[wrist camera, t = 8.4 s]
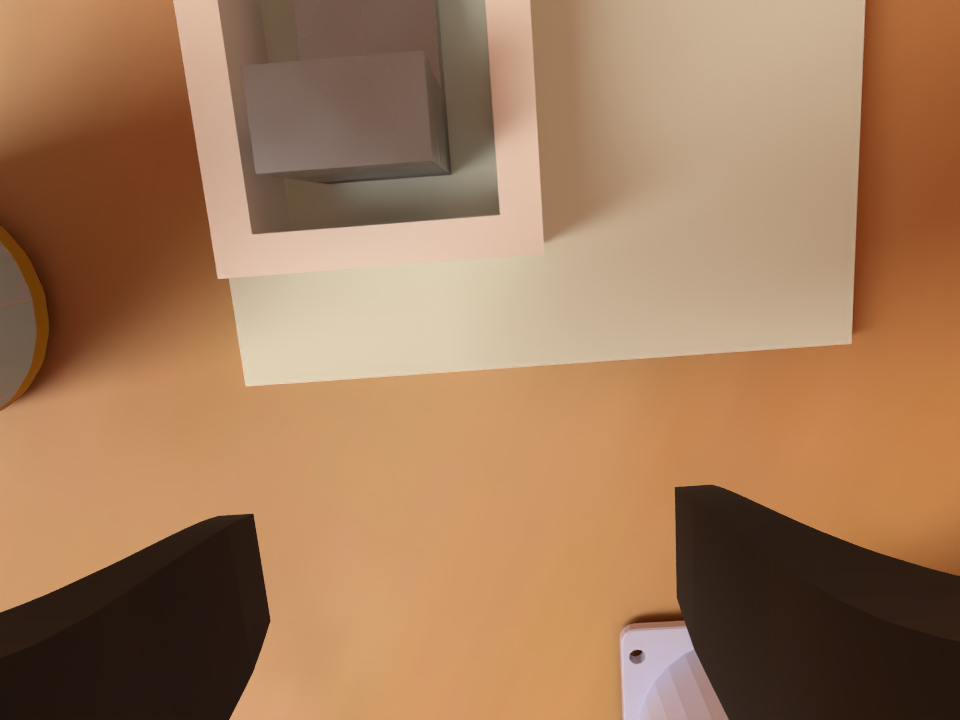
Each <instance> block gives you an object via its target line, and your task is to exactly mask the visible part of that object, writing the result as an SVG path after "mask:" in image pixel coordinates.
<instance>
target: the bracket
mask: <svg viewBox="0 0 960 720" xmlns="http://www.w3.org/2000/svg"><path fill="white" fill-rule="evenodd" d="M293 6H294V15H295V23H296V31H297V40H298V48H299V56H300V61H289V62H277V63H265V64H253V65H241V71H242V78H243V85H244V92H245V100H246V107H247V114H248V121H249V129H250V136H251V143H252V151H253V158H254V165H255V172H256V174H260V175H267V176H274V177H282V178H289V179H296V180H303V181H310V182H317V183H324V184H337V183H350V182H363V181H377V180H390V179H403V178H417V177H430V176H443V175H452V174H451V161H450V148H449V135H448V122H447V109H446V97H445V84H444V71H443V58H442V45H441V32H440V19H439V7H438V0H293Z"/></svg>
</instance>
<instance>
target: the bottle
mask: <svg viewBox="0 0 960 720" xmlns="http://www.w3.org/2000/svg"><path fill="white" fill-rule="evenodd" d="M48 336H49V319H48V312H47V304H46V297H45V294H44V290H43V287H42V285H41V283H40V281H39V279H38V276H37V274H36V272H35V270H34V268H33V265H32V263H31V261H30V260H29V258H28V256H27V255H26V253H25V252H24V251H23V250H22V248H21V247H20V246H19V245H18V244H17V243H16V241H15V240H14V239H13V238H12V237H11V235H10V234H9V233H8V232H7V231H6V230H5V229H4V228H3V227H2V226H1V225H0V411H1V410H3V409H5V408H6V407H7V406H9V405H10V404H11V403H12V402H14V401H15V400H16V399H17V398H19V397H20V396H21V395H23V394H24V392H25V391H26V390H27V389H28V388H29V386H30V385H31V383H32V381H33V380H34V378H35V376H36V375H37V373H38V371H39V370H40V368H41V366H42V363H43V361H44V358H45V352H46V347H47V342H48Z"/></svg>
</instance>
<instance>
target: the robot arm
mask: <svg viewBox="0 0 960 720" xmlns="http://www.w3.org/2000/svg"><path fill="white" fill-rule="evenodd" d="M675 516H676V575H677V599H678V602H679V605H680V609H681V612H682V615H683V618H684V621H667V622H650V623H634V624H629V625H627V626H626V627H624V628H623V630H622V631H621V633H620V661H621V688H622V715H623V720H960V576H956V575H952V574H948V573H945V572H941V571H937V570H933V569H929V568H926V567H922V566H919V565H916V564H912V563H909V562H906V561H903V560H899V559H896V558H893V557H890V556H886V555H883V554H880V553H877V552H874V551H871V550H868V549H865V548H862V547H860V546H857V545H854V544H852V543H849V542H847V541H844V540H841V539H839V538H836V537H834V536H831V535H829V534H826V533H824V532H821V531H819V530H816V529H814V528H812V527H809V526H807V525H805V524H802V523H800V522H798V521H795V520H793V519H791V518H789V517H787V516H784V515H782V514H780V513H778V512H776V511H773V510H771V509H769V508H767V507H765V506H763V505H760V504H758V503H756V502H754V501H752V500H750V499H747V498H745V497H743V496H741V495H738V494H736V493H734V492H732V491H729V490H727V489H724V488H721V487H718V486H714V485H701V486H686V487H675ZM269 623H270V615H269V608H268V602H267V596H266V590H265V584H264V577H263V571H262V565H261V559H260V552H259V546H258V540H257V534H256V528H255V521H254V515H253V514H243V515H227V516H217V517H214V518H210V519H207V520H204V521H202V522H199V523H197V524H195V525H192V526H190V527H188V528H186V529H184V530H181V531H179V532H177V533H175V534H173V535H171V536H169V537H167V538H165V539H163V540H161V541H159V542H157V543H155V544H153V545H151V546H149V547H147V548H145V549H143V550H141V551H139V552H137V553H135V554H133V555H131V556H129V557H127V558H125V559H123V560H121V561H118V562H116V563H114V564H112V565H110V566H108V567H106V568H104V569H101V570H99V571H97V572H95V573H93V574H91V575H88V576H86V577H84V578H82V579H80V580H78V581H75V582H73V583H71V584H69V585H67V586H65V587H63V588H60V589H58V590H56V591H54V592H51V593H49V594H47V595H44V596H42V597H39V598H37V599H34V600H32V601H30V602H27V603H25V604H22V605H20V606H17V607H14V608H12V609H9V610H6V611H4V612H1V613H0V720H229V719H230V717H231V715H232V713H233V711H234V709H235V707H236V705H237V703H238V701H239V699H240V697H241V695H242V693H243V691H244V689H245V687H246V685H247V683H248V681H249V679H250V677H251V675H252V673H253V670H254V668H255V665H256V662H257V659H258V657H259V654H260V651H261V648H262V645H263V642H264V639H265V636H266V633H267V630H268V626H269ZM634 650H641V651H642V653H641V654H640V655H638V656H631V655H630V653H631V652H632V651H634Z"/></svg>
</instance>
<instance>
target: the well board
mask: <svg viewBox="0 0 960 720" xmlns="http://www.w3.org/2000/svg"><path fill="white" fill-rule="evenodd" d="M173 2H174V8H175V14H176V20H177V27H178V33H179V39H180V45H181V52H182V58H183V64H184V70H185V77H186V83H187V89H188V95H189V102H190V108H191V114H192V121H193V127H194V133H195V139H196V146H197V152H198V158H199V164H200V171H201V177H202V183H203V189H204V196H205V202H206V208H207V214H208V221H209V227H210V233H211V239H212V246H213V252H214V258H215V264H216V271H217V277H218V279H225V278H229V283H230V289H231V295H232V302H233V308H234V315H235V321H236V327H237V334H238V340H239V347H240V353H241V359H242V366H243V372H244V379H245V385H246V386H259V385H273V384H287V383H302V382H316V381H330V380H344V379H358V378H373V377H387V376H401V375H415V374H430V373H444V372H458V371H472V370H486V369H501V368H515V367H529V366H543V365H558V364H572V363H586V362H600V361H614V360H629V359H643V358H657V357H671V356H685V355H700V354H714V353H728V352H742V351H757V350H771V349H785V348H799V347H813V346H828V345H842V344H851V342H852V318H853V293H854V269H855V244H856V220H857V195H858V171H859V146H860V121H861V97H862V72H863V48H864V23H865V0H438V7H439V19H440V32H441V45H442V58H443V71H444V84H445V97H446V109H447V122H448V135H449V148H450V161H451V174H452V175H443V176H430V177H417V178H403V179H390V180H377V181H363V182H350V183H337V184H324V183H317V182H310V181H303V180H296V179H289V178H282V177H274V176H267V175H260V174H256V172H255V165H254V158H253V151H252V143H251V136H250V129H249V121H248V114H247V107H246V100H245V92H244V85H243V78H242V71H241V65H253V64H265V63H277V62H289V61H300V56H299V48H298V40H297V31H296V23H295V15H294V6H293V0H173Z"/></svg>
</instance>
